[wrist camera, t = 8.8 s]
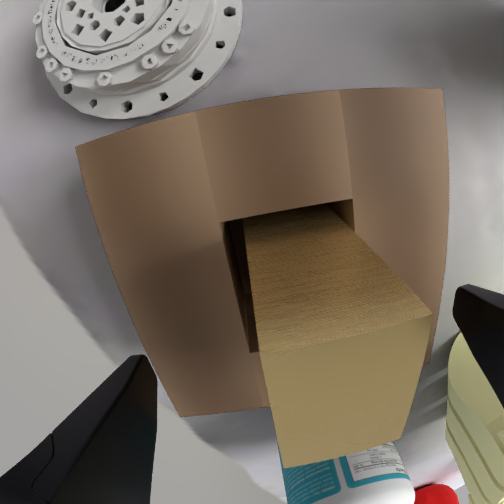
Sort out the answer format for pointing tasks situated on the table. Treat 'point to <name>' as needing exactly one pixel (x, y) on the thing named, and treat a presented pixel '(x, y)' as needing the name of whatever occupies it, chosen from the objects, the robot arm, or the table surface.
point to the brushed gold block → (332, 335)
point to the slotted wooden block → (256, 203)
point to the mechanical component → (134, 51)
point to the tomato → (436, 495)
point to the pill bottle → (351, 479)
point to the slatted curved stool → (475, 427)
